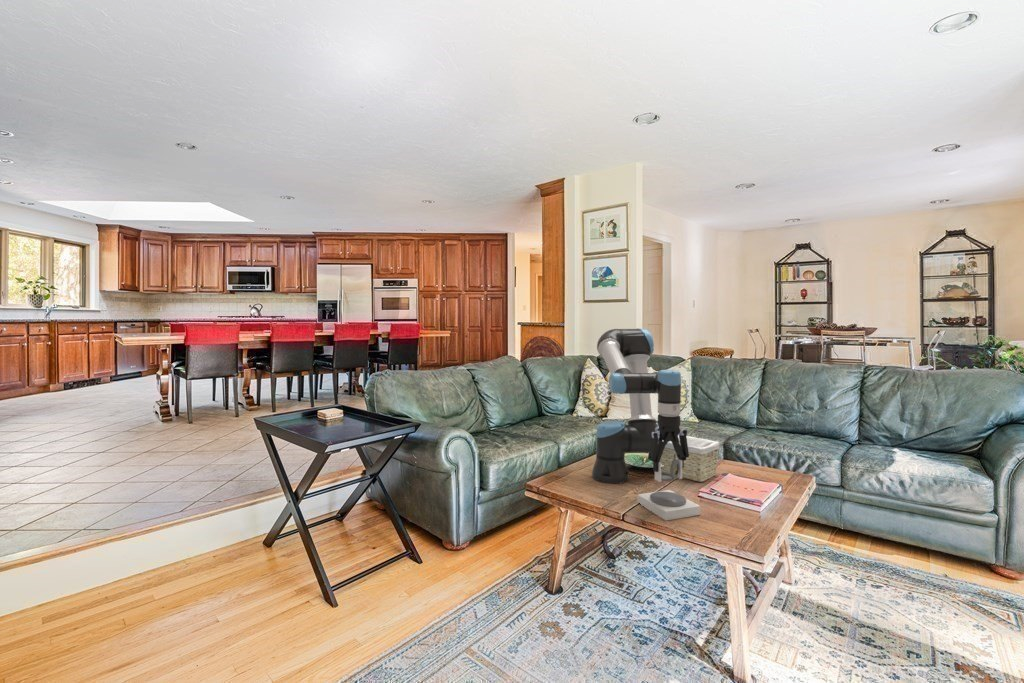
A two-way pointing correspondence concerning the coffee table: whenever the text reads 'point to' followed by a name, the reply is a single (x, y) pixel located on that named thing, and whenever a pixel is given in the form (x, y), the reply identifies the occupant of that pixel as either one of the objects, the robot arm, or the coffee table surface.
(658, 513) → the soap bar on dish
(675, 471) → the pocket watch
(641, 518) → the coffee table surface
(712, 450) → the storage basket
